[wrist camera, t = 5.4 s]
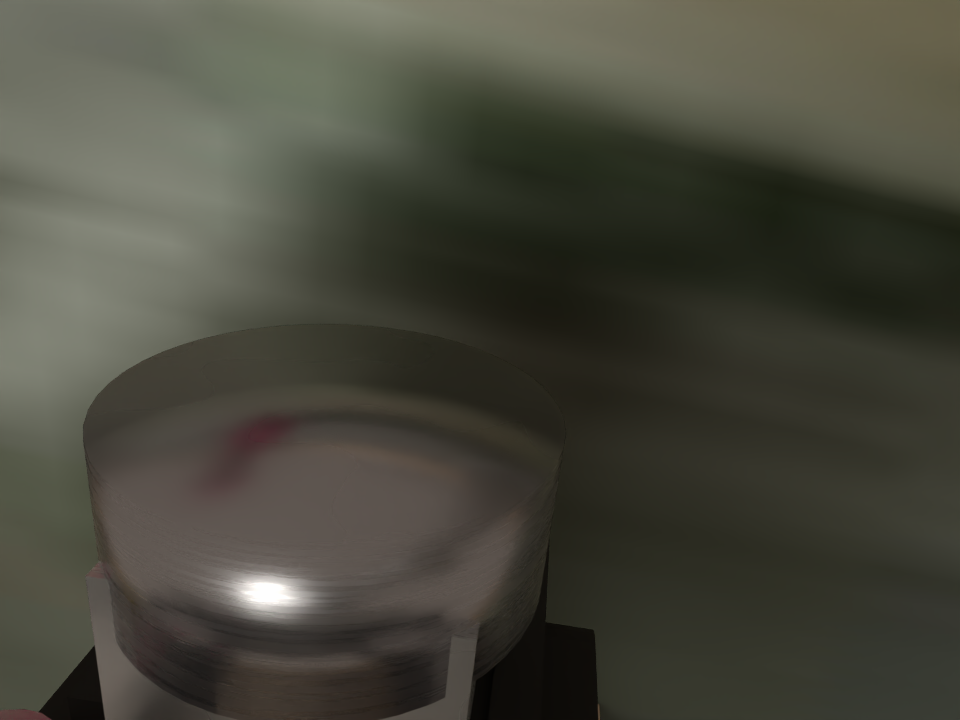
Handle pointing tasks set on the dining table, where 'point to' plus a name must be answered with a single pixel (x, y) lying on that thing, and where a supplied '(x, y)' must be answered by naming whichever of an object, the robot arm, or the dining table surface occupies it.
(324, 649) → the shaft
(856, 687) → the dining table surface
